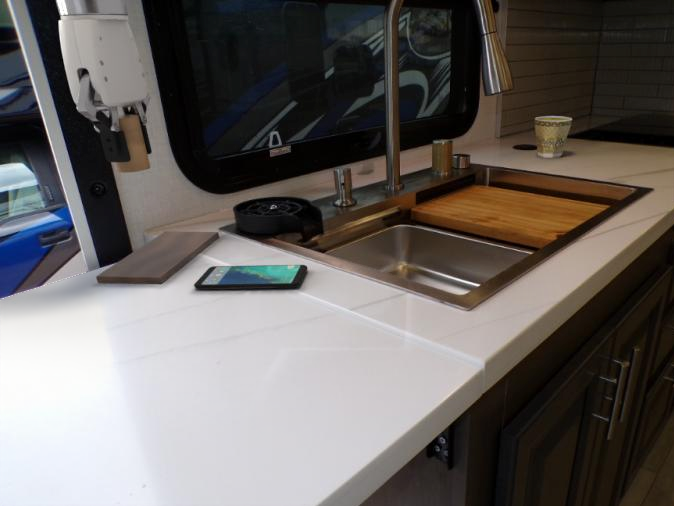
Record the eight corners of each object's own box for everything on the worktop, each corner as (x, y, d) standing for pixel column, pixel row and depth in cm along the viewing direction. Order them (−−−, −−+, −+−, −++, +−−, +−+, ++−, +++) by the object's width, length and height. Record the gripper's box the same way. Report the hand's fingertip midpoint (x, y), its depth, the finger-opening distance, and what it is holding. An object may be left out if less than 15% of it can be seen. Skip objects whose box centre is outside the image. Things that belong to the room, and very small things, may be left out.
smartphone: (209, 265, 79) (308, 264, 78) (210, 270, 79) (308, 268, 79) (191, 285, 73) (298, 284, 72) (192, 290, 73) (298, 288, 72)
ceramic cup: (565, 159, 143) (569, 121, 138) (528, 157, 146) (531, 120, 142) (571, 151, 153) (575, 115, 149) (537, 149, 157) (540, 114, 152)
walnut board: (97, 282, 77) (95, 276, 76) (166, 236, 94) (165, 231, 94) (161, 284, 76) (160, 277, 75) (219, 237, 93) (218, 231, 93)
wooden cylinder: (109, 172, 72) (94, 119, 69) (128, 165, 76) (115, 114, 73) (139, 172, 71) (126, 118, 68) (156, 165, 75) (144, 114, 72)
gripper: (106, 12, 73) (139, 146, 81) (12, 5, 58) (64, 171, 66) (157, 10, 72) (185, 146, 80) (74, 2, 57) (119, 171, 65)
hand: (130, 156), depth 73 cm, fingers closed on wooden cylinder, 4 cm apart
